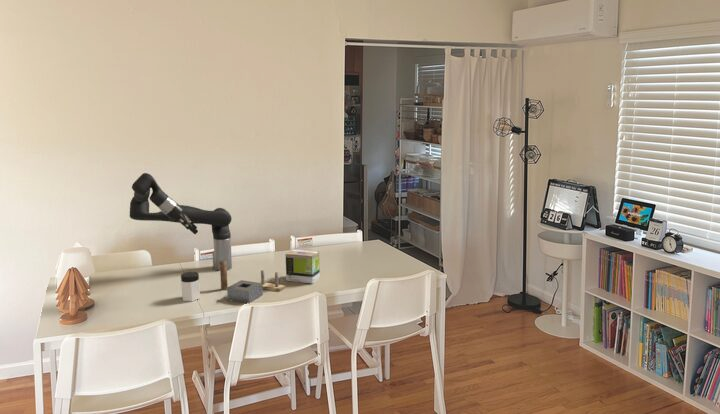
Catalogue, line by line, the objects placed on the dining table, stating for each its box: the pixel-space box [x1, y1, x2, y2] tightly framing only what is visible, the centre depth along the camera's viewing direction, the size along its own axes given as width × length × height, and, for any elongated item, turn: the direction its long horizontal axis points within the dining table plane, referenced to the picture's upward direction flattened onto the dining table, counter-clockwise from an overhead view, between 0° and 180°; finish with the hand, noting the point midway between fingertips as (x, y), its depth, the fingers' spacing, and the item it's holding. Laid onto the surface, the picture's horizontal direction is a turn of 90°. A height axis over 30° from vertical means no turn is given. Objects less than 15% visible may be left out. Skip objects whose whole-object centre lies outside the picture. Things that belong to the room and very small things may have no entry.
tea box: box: [285, 248, 321, 284], centre depth 319 cm, size 15×10×15 cm, turn 71°
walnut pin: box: [219, 261, 229, 291], centre depth 305 cm, size 3×3×14 cm
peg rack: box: [259, 269, 286, 292], centre depth 307 cm, size 14×5×8 cm, turn 68°
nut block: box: [226, 279, 264, 304], centre depth 294 cm, size 12×12×6 cm
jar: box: [180, 271, 201, 302], centre depth 292 cm, size 9×8×12 cm
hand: (196, 231), depth 297 cm, fingers open, 8 cm apart
